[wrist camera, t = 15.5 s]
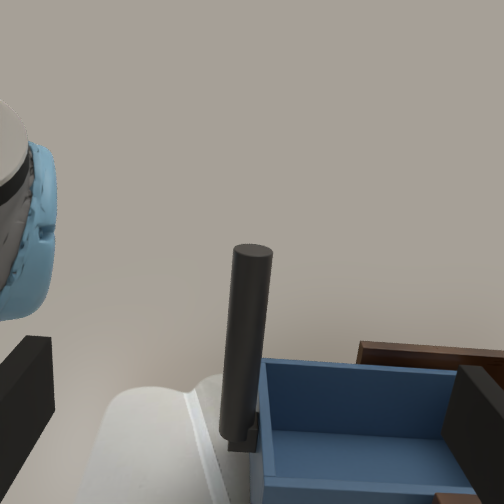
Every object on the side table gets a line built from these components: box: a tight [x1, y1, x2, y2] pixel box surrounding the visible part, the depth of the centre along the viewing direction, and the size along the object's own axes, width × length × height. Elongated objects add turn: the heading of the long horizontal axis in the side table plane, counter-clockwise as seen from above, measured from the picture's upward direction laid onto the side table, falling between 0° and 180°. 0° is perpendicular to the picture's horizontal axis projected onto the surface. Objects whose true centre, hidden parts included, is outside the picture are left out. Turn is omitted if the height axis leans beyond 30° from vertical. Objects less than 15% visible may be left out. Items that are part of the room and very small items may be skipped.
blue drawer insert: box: [219, 244, 476, 504], centre depth 26 cm, size 17×11×15 cm, turn 91°
